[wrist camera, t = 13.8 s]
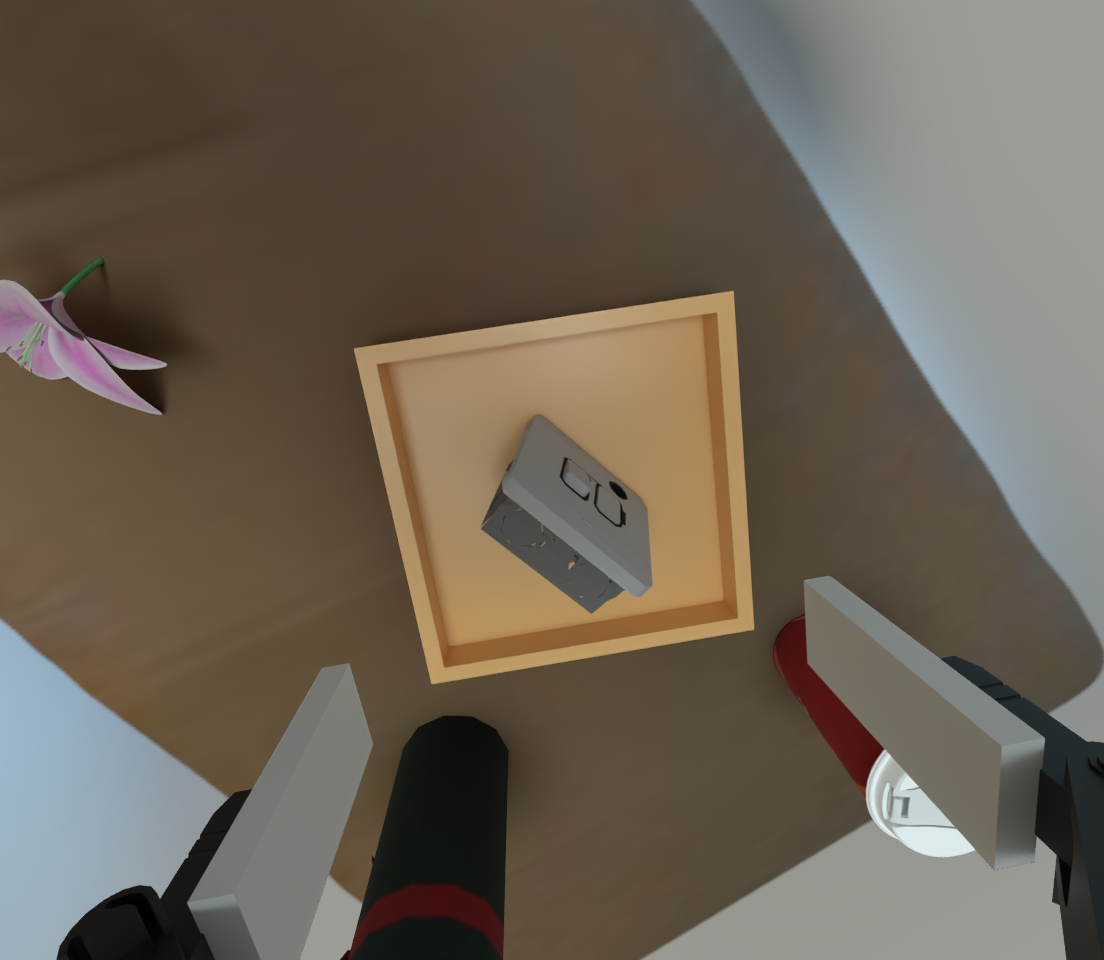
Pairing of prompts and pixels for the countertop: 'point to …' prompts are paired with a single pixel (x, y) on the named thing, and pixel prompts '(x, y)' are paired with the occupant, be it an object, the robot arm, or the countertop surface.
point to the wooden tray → (599, 429)
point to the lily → (65, 344)
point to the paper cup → (866, 757)
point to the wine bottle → (440, 850)
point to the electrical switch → (571, 519)
